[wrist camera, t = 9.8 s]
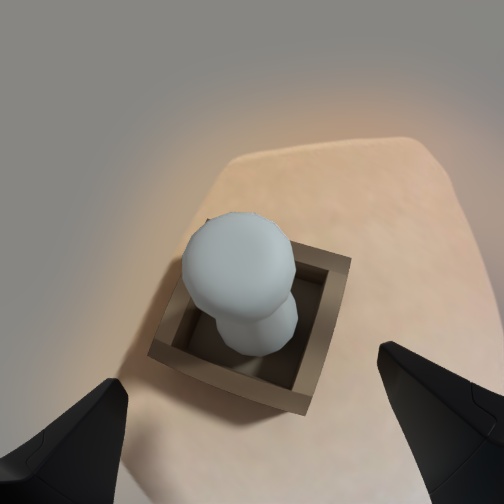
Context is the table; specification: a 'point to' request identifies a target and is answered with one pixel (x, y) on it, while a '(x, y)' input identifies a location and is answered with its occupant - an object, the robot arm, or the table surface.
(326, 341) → the socket block
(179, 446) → the table surface
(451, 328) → the table surface
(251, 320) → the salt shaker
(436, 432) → the robot arm
